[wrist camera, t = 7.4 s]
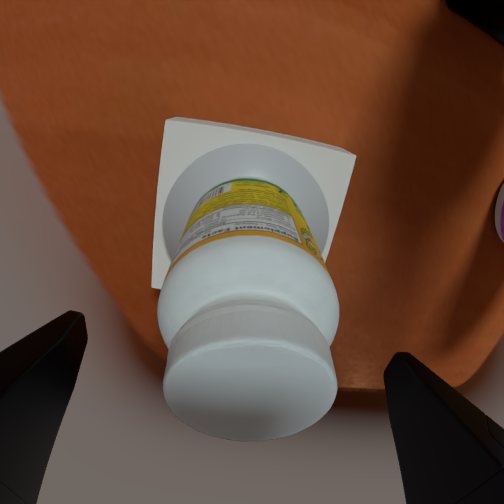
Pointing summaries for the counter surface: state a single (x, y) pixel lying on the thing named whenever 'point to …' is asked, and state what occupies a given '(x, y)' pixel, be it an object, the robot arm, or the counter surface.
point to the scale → (244, 164)
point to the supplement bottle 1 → (248, 316)
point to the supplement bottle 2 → (500, 214)
